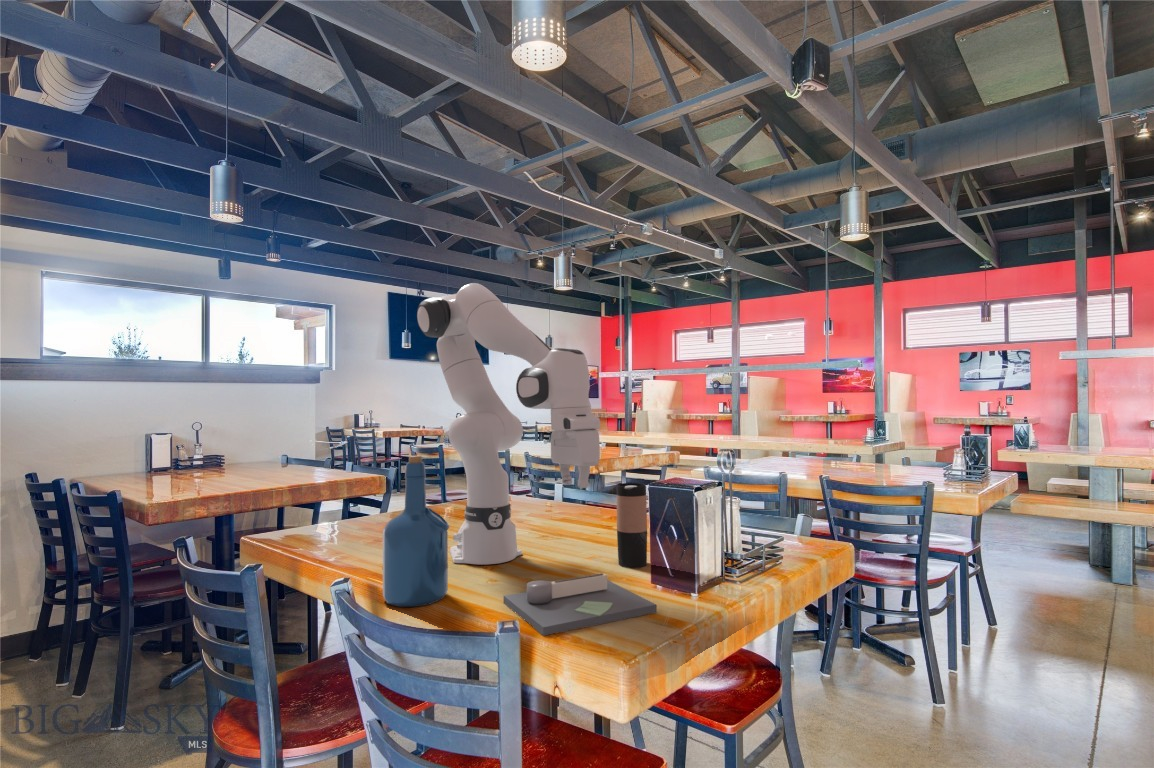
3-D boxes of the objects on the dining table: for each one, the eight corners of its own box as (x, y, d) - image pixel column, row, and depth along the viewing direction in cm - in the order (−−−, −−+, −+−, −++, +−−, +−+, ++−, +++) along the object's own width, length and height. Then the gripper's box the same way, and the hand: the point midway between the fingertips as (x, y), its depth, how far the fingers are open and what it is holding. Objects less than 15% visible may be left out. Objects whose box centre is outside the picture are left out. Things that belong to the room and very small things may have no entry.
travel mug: (636, 558, 154) (635, 482, 155) (653, 565, 148) (652, 485, 149) (611, 562, 151) (610, 484, 152) (628, 569, 144) (626, 487, 145)
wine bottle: (379, 611, 117) (379, 459, 118) (386, 591, 130) (386, 454, 131) (449, 605, 120) (449, 457, 121) (449, 586, 132) (449, 452, 134)
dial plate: (503, 602, 121) (503, 594, 121) (604, 585, 132) (604, 577, 132) (543, 636, 103) (543, 626, 103) (657, 612, 114) (656, 603, 114)
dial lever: (523, 597, 118) (522, 582, 118) (599, 584, 126) (598, 570, 126) (532, 605, 114) (532, 589, 114) (611, 591, 122) (610, 576, 122)
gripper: (542, 423, 136) (545, 483, 135) (574, 421, 117) (578, 491, 116) (568, 422, 139) (571, 481, 138) (603, 419, 120) (607, 488, 119)
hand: (574, 485), depth 127 cm, fingers open, 8 cm apart
